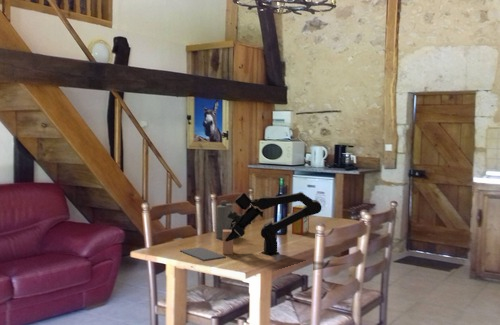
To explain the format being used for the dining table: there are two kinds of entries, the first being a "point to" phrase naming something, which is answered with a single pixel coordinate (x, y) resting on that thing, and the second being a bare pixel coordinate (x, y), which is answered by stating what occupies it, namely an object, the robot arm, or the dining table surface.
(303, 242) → the dining table surface
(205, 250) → the charcoal mat
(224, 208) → the flask
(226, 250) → the terracotta block
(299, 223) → the baking soda box
